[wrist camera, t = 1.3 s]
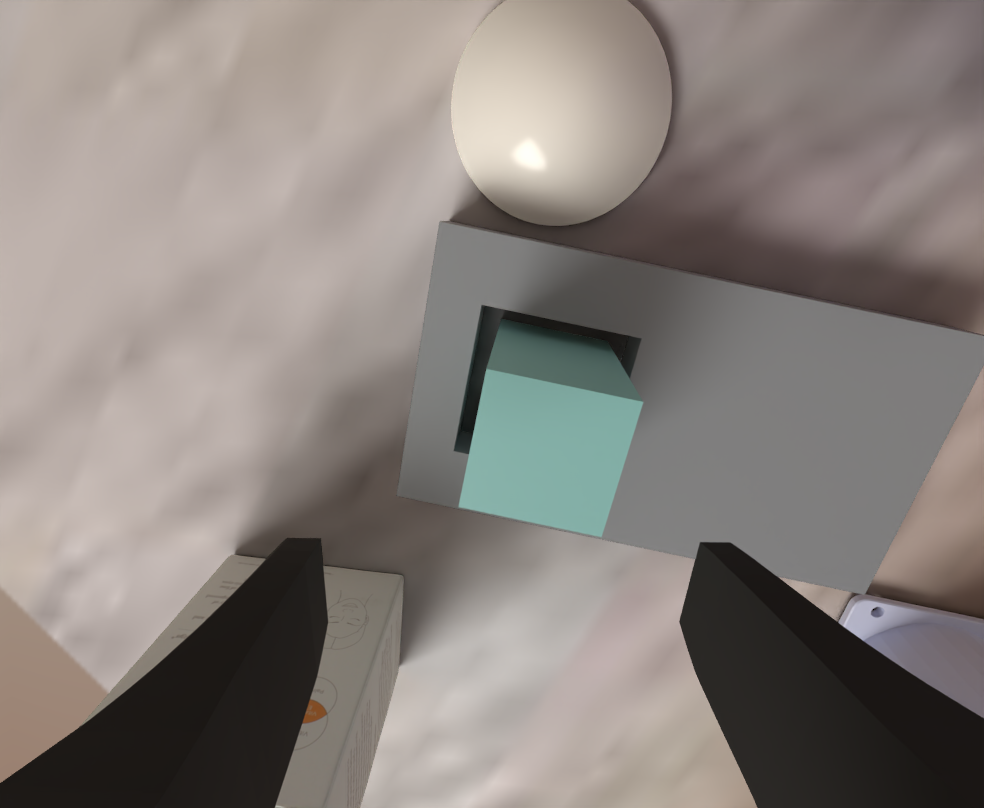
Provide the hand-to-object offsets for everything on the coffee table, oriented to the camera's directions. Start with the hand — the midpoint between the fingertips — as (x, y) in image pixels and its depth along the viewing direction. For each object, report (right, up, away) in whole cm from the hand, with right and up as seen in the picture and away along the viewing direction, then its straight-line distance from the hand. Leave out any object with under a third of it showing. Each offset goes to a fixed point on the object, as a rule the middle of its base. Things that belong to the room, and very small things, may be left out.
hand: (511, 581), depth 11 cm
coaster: (+2, +13, +7) cm, 15 cm away
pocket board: (+6, +3, +10) cm, 12 cm away
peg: (+2, +4, +10) cm, 11 cm away
